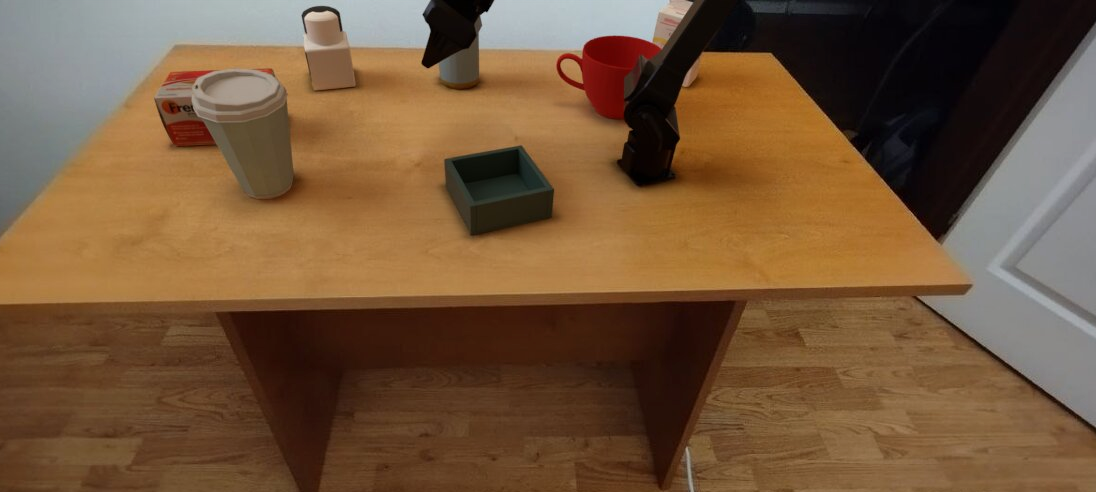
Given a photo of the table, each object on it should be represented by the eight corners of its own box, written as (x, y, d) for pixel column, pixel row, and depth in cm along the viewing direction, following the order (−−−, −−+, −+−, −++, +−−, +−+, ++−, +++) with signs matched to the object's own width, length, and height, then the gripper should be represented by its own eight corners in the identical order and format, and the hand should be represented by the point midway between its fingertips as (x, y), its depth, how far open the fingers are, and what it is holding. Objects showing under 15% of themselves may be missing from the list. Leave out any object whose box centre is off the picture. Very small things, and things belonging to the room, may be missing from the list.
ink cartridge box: (644, 76, 108) (660, -8, 98) (654, 67, 111) (671, -15, 101) (688, 88, 104) (709, 3, 94) (697, 78, 108) (718, -5, 98)
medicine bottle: (311, 73, 103) (296, 3, 95) (352, 69, 105) (340, 0, 97) (313, 91, 98) (297, 19, 90) (356, 87, 100) (344, 15, 92)
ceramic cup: (555, 87, 103) (559, 30, 96) (650, 95, 102) (661, 38, 95) (551, 123, 93) (555, 63, 86) (656, 131, 92) (669, 71, 86)
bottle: (473, 92, 100) (471, 2, 90) (434, 87, 101) (428, -3, 91) (483, 75, 105) (482, -12, 95) (446, 71, 106) (442, -17, 96)
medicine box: (172, 147, 84) (150, 96, 78) (186, 120, 90) (166, 70, 84) (280, 142, 86) (266, 92, 81) (287, 116, 92) (275, 67, 86)
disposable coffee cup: (305, 160, 83) (279, 57, 73) (314, 202, 76) (287, 95, 65) (226, 172, 80) (187, 68, 70) (227, 218, 73) (184, 109, 62)
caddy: (520, 172, 83) (521, 144, 80) (552, 217, 75) (554, 189, 72) (445, 186, 79) (443, 158, 76) (470, 235, 72) (470, 206, 69)
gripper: (457, -119, 71) (401, -11, 80) (416, -84, 57) (354, 40, 67) (530, -57, 74) (467, 38, 84) (507, -11, 61) (436, 97, 70)
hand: (433, 51), depth 76 cm, fingers open, 9 cm apart
